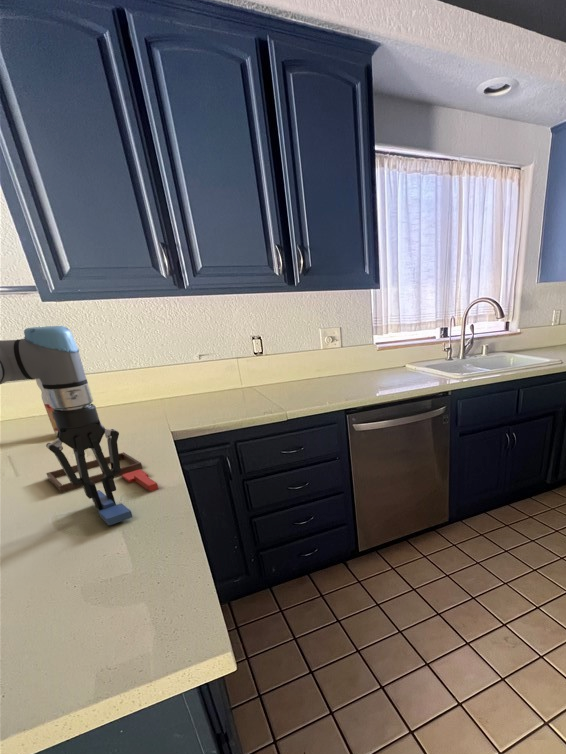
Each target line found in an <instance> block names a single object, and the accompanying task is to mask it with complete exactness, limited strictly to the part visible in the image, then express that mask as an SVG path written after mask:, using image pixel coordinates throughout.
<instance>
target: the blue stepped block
mask: <svg viewBox="0 0 566 754" xmlns="http://www.w3.org/2000/svg"><path fill="white" fill-rule="evenodd" d="M97 492H98V495H99V498H100V501H101V505H102V508H103V510H100V511H99V510H98V515H99V518H100V519H101V520H102V521H103V522H104V523H106V525H107V526H112V525H115V524H118V523H120V522H123V521H126V520H130V519H132V518H133V517H134V516H133V513H132V510H130V508H128V507H127V506H126V505H125V504H124V503H119V504H116V505H115V504H114V502H113V501H112V500H110V499H109V498H108V497H107V496H106V493H104V492H103V491H101V490H100V489H97ZM91 500H92V502H93V503H94V500H93V498H91Z"/></svg>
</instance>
